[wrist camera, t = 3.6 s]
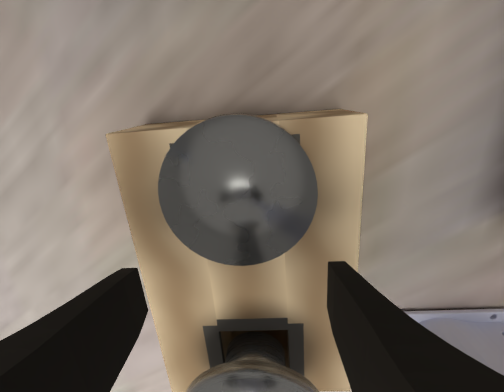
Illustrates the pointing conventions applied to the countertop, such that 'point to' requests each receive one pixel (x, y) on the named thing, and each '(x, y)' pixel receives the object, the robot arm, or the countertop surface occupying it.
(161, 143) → the block
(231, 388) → the peg
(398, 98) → the countertop surface
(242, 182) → the peg
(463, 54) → the countertop surface
